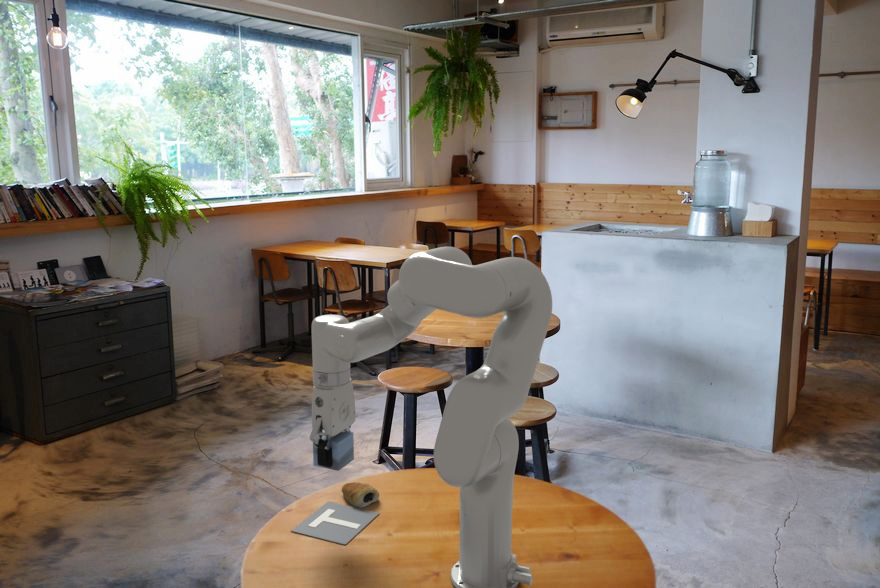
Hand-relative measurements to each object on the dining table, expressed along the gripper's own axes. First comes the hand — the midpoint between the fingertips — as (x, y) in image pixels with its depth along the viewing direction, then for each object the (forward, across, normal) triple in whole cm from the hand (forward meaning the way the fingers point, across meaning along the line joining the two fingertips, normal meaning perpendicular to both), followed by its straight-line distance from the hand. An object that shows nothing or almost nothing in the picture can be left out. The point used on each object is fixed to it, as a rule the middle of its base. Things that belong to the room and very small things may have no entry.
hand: (333, 458), depth 158 cm
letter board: (+14, 0, 0) cm, 14 cm away
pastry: (+15, +11, +1) cm, 19 cm away
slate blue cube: (+1, 0, 0) cm, 1 cm away
